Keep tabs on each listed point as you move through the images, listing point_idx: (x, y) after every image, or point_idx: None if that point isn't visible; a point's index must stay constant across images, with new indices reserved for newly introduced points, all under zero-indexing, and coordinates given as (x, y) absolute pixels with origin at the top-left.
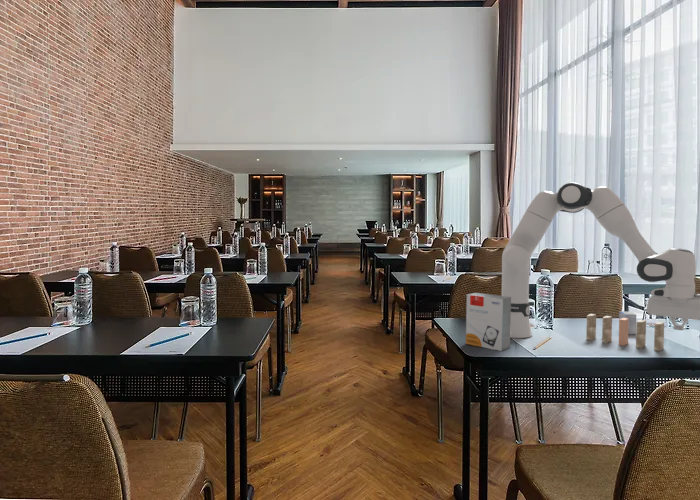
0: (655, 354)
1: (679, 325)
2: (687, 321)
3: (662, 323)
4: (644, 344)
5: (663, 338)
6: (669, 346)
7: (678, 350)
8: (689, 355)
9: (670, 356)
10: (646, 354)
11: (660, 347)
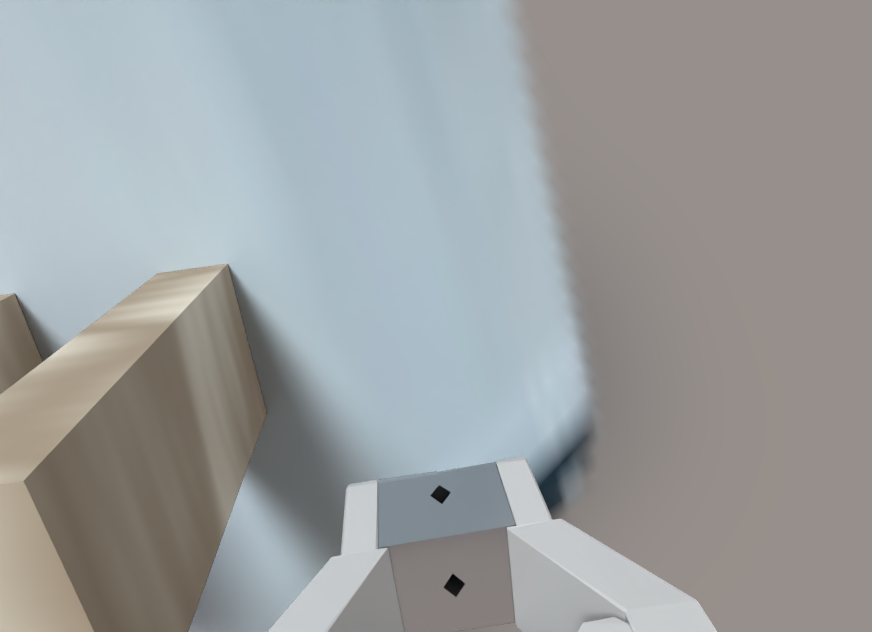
0: (303, 566)
1: (482, 618)
2: (683, 614)
3: (75, 614)
4: (15, 349)
5: (189, 338)
6: (200, 41)
7: (377, 204)
8: (536, 353)
9: None
10: (254, 623)
11: (256, 431)
